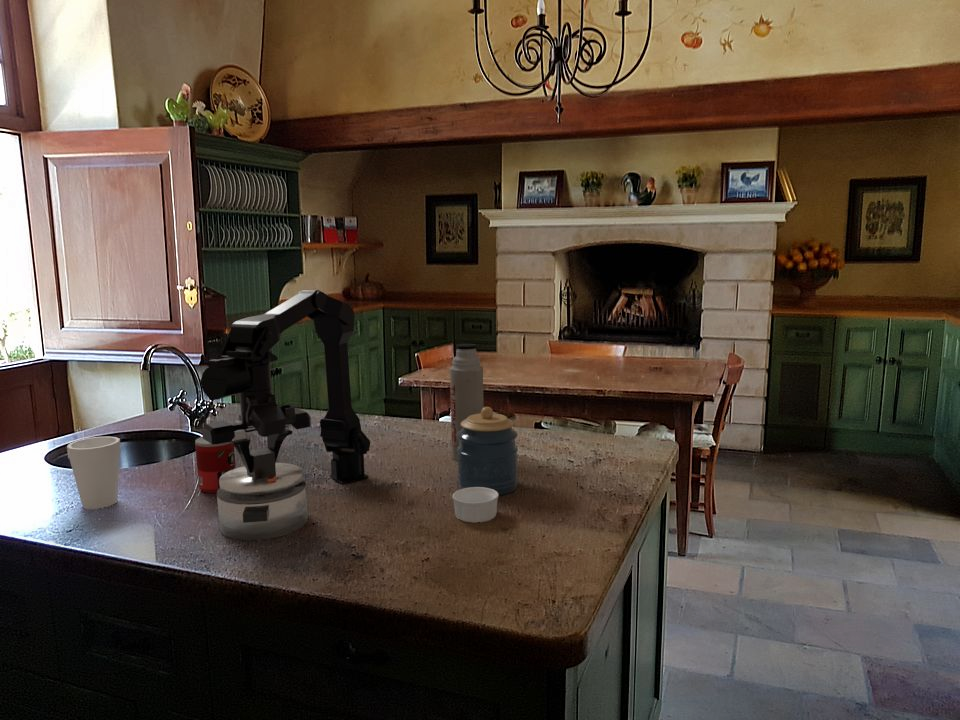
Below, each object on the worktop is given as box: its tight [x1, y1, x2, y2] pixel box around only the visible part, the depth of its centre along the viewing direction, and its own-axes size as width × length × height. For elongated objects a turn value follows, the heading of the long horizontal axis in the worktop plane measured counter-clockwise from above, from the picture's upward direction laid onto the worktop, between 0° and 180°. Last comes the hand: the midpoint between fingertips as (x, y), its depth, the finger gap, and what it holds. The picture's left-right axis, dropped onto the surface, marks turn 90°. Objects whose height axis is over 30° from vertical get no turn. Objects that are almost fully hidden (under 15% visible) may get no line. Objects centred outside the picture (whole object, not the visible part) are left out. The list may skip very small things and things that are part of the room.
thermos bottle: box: [449, 343, 485, 462], centre depth 172 cm, size 8×8×28 cm
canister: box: [457, 406, 519, 496], centre depth 151 cm, size 13×13×18 cm
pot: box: [216, 478, 309, 541], centre depth 134 cm, size 23×16×7 cm
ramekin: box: [452, 487, 500, 524], centre depth 137 cm, size 9×9×4 cm
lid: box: [219, 447, 304, 495], centre depth 133 cm, size 15×15×6 cm
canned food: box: [194, 436, 237, 494], centre depth 154 cm, size 8×8×11 cm
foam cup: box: [66, 435, 122, 510], centre depth 145 cm, size 10×9×13 cm
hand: (261, 469), depth 133 cm, fingers closed on lid, 4 cm apart
